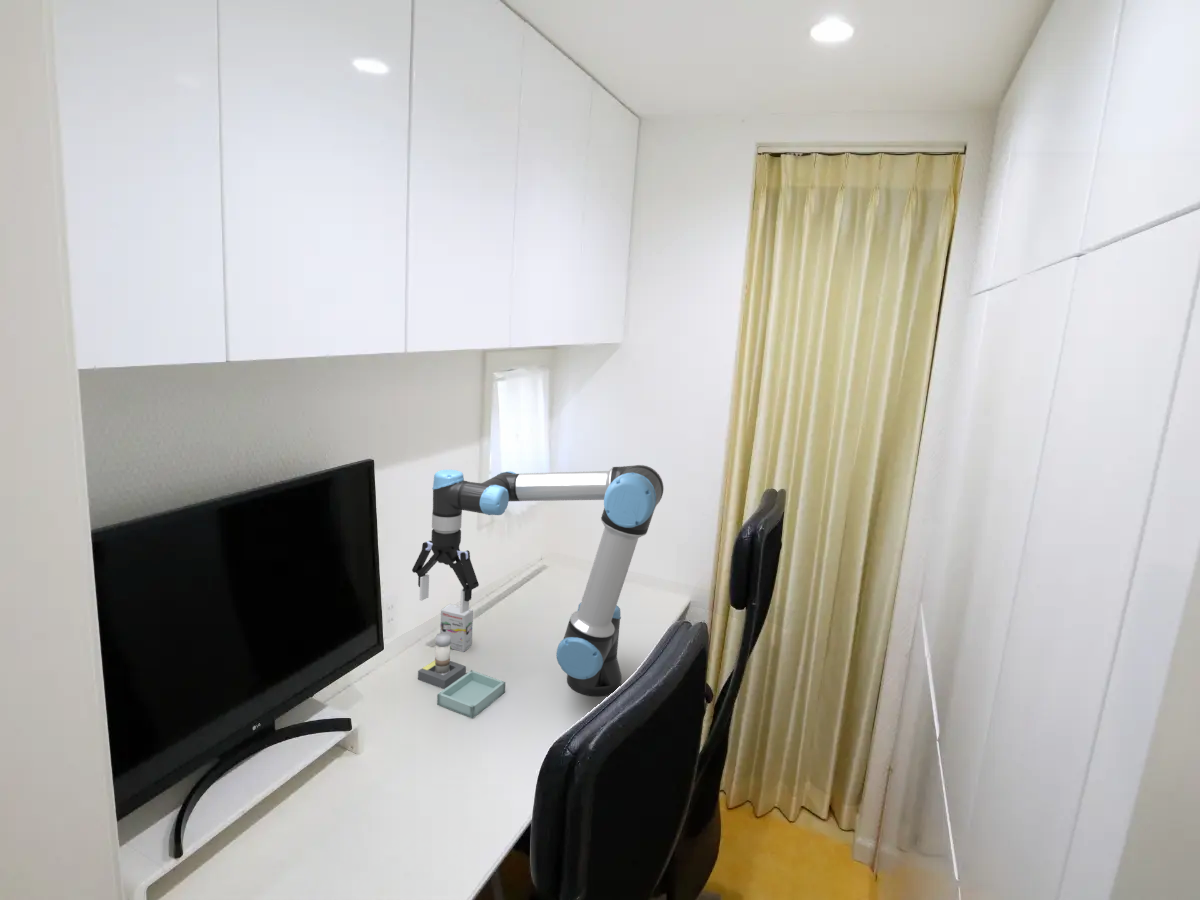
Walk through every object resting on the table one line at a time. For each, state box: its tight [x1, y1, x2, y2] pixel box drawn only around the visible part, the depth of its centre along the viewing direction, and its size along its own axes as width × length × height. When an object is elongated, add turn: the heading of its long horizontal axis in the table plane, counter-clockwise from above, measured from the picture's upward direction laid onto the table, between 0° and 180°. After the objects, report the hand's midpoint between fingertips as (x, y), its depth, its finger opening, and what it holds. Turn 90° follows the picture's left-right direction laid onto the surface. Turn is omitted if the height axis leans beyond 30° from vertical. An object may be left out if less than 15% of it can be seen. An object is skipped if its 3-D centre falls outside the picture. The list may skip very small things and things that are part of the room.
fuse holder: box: [417, 659, 467, 690], centre depth 180 cm, size 9×9×3 cm
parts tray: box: [436, 669, 506, 719], centre depth 171 cm, size 11×14×3 cm
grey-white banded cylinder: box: [434, 632, 451, 675], centre depth 180 cm, size 4×4×12 cm
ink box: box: [439, 603, 474, 653], centre depth 197 cm, size 8×5×12 cm, turn 71°
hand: (443, 605), depth 177 cm, fingers open, 13 cm apart
